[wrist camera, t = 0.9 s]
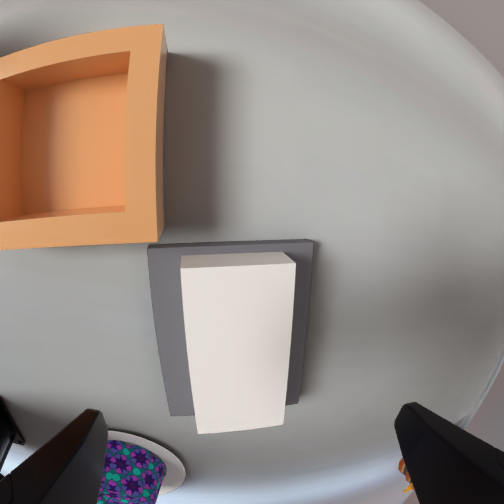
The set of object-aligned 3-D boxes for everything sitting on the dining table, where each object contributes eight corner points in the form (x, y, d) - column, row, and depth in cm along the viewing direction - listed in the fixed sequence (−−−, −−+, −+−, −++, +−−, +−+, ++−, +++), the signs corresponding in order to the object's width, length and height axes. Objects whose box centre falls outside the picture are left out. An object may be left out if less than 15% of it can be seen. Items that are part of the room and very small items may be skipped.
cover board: (274, 402, 22) (283, 424, 19) (195, 410, 20) (198, 434, 18) (282, 251, 19) (295, 263, 16) (181, 255, 17) (180, 268, 15)
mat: (294, 395, 23) (298, 403, 22) (170, 407, 21) (170, 416, 20) (307, 239, 20) (313, 242, 19) (149, 244, 18) (146, 248, 17)
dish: (164, 227, 18) (157, 242, 14) (12, 236, 16) (-19, 251, 12) (167, 52, 15) (163, 23, 11) (15, 78, 13) (-15, 63, 9)
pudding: (176, 426, 22) (178, 473, 17) (191, 492, 25) (195, 529, 20) (50, 417, 20) (34, 457, 15) (89, 486, 23) (84, 520, 18)
